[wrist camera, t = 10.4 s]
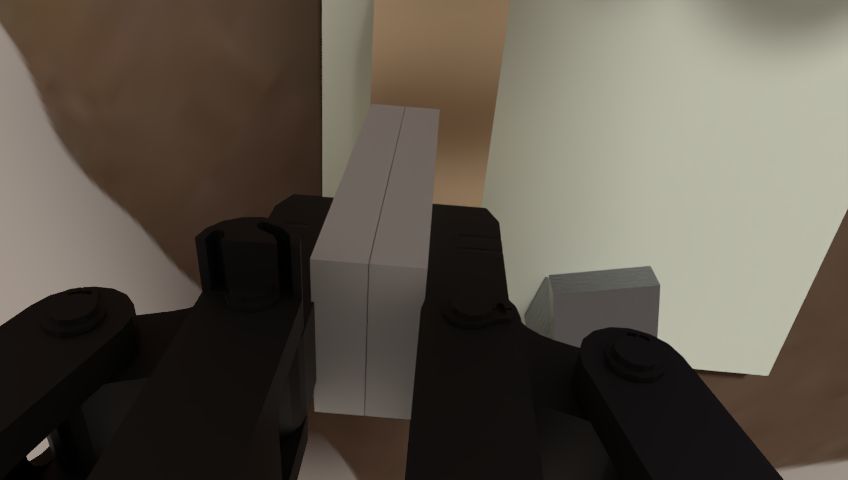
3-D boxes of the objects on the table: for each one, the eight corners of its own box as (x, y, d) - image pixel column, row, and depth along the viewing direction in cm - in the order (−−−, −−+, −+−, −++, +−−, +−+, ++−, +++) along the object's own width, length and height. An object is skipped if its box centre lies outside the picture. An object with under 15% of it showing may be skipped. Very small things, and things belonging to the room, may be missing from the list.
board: (327, -127, 22) (321, -127, 21) (953, -68, 22) (978, -66, 21) (327, 320, 32) (322, 334, 31) (757, 359, 32) (768, 375, 31)
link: (350, -99, 21) (323, -95, 17) (551, -80, 21) (575, -72, 17) (343, 317, 30) (324, 388, 26) (484, 329, 30) (489, 403, 26)
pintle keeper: (401, 163, 27) (379, 272, 20) (629, 184, 27) (698, 302, 20) (392, 299, 31) (370, 436, 23) (593, 317, 31) (639, 461, 23)
